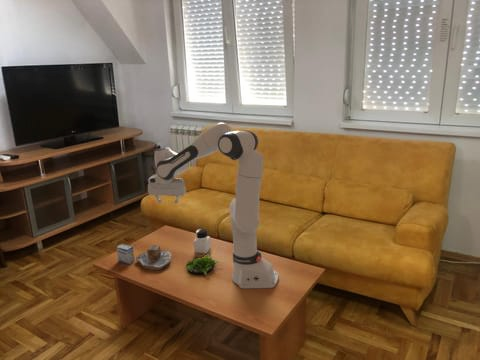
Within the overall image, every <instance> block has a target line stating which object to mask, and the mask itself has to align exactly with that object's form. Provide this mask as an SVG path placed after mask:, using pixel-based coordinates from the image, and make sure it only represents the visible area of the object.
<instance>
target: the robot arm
mask: <svg viewBox="0 0 480 360" xmlns="http://www.w3.org/2000/svg"><path fill="white" fill-rule="evenodd" d="M258 145H259V137H258V136H257V134H256V133H254V132H253V131H250V130H240V129H239V130H232V127H231V126H230V125H229V124H227V123H226V122H218V123H216V124H214V125H212V126H210V127H208V128H207V129H206V130H204V131H203V132H201V133H200V134H199V135H198V136H197V137H196V138H195V139H194V140H193V141H192V142H190V143H189V144H188V145H187V146H186V147H185V148H184V149H182V150H181V151H179V152H178V153H177V152H176V151H173V149H171V148H170V147H169V146H164V147H160V148H157V149H155V151H154V165H155V168H156V170H155V171H156V172H155V174H153V175H151V176H150V177H149V178H148V179H147V183H148V184H147V193H148V195H150V196H155V198H156V200H157V203H158V204H160V203H161V204H162V202H163V199H162V198H160V196H173V197H174V196H175V197H176V198H175V199H174V203H175V204H179V199H180V197H181V196H182V197H184V196H185V194H186V193H187V189H186V188H187V187H186V181H185V180H184V178H182V177H177V176H179V175H181V174H183V173H184V172H187V170H188V169H189V165H190V162H193V161H196V160H198V159H201V158H205V157H207V156H211V155H213V154H214V153H217V152H218V151H219V152H220V153H221V154H222V155H224V156H225V157H228V158H230V159H231V160H232V161H237V162H238V169H237V175H236V182H235V183H236V184H235V189H234V190H235V191H234V192H235V198H233V199H232V200H231V202H230V203H229V216H230V224H231V225H230V227H231V232H232V233H231V234H232V242H233V243H232V245H233V252H232V261H233V262H232V263H233V271H232V276H231V281H232V282H233V283H234V284H236V285H238V287H239V288H240V289H272V288H274V287H275V286H276V285H277V284H278V281H279V273H278V272H277V271H276V270H274V268H273V265H272V263H270V262H269V261H268V260H265V259H264V258H263V257H262V251H259V250H258V246H257V245H258V243H257V238H258V237H257V233H256V231H257V229H259V226H260V191H261V186H262V185H261V184H262V180H263V172H264V171H263V170H264V157H263V154H262V152H260V151H258V150H256V149H257V148H258Z"/></svg>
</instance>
